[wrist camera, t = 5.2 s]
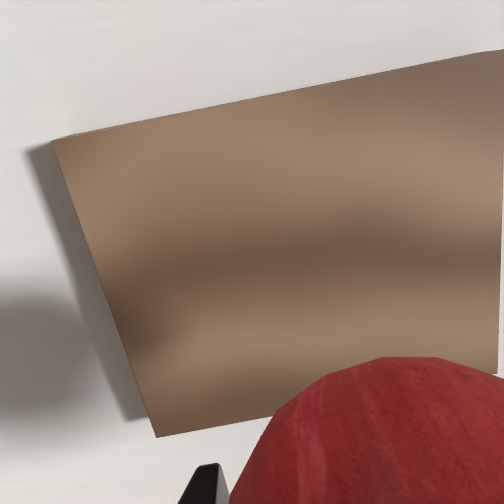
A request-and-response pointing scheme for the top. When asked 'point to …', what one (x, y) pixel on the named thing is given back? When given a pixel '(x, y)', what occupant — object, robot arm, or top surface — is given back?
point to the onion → (384, 438)
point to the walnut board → (298, 235)
